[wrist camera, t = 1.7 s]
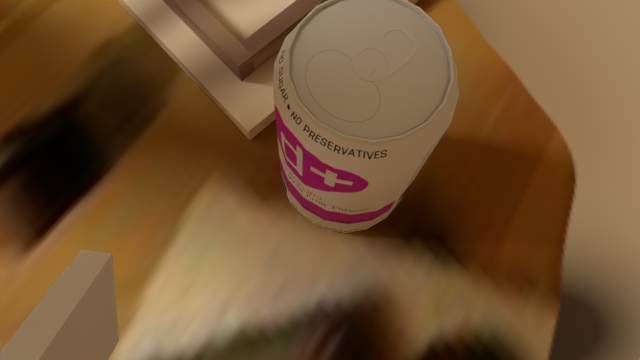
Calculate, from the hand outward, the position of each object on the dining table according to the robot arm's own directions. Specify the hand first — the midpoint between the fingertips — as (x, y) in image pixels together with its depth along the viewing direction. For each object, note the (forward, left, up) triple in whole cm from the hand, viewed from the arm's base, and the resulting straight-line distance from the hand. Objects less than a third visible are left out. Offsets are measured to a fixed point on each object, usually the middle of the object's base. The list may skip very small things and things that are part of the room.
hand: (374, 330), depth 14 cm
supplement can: (-7, +8, -22) cm, 24 cm away
